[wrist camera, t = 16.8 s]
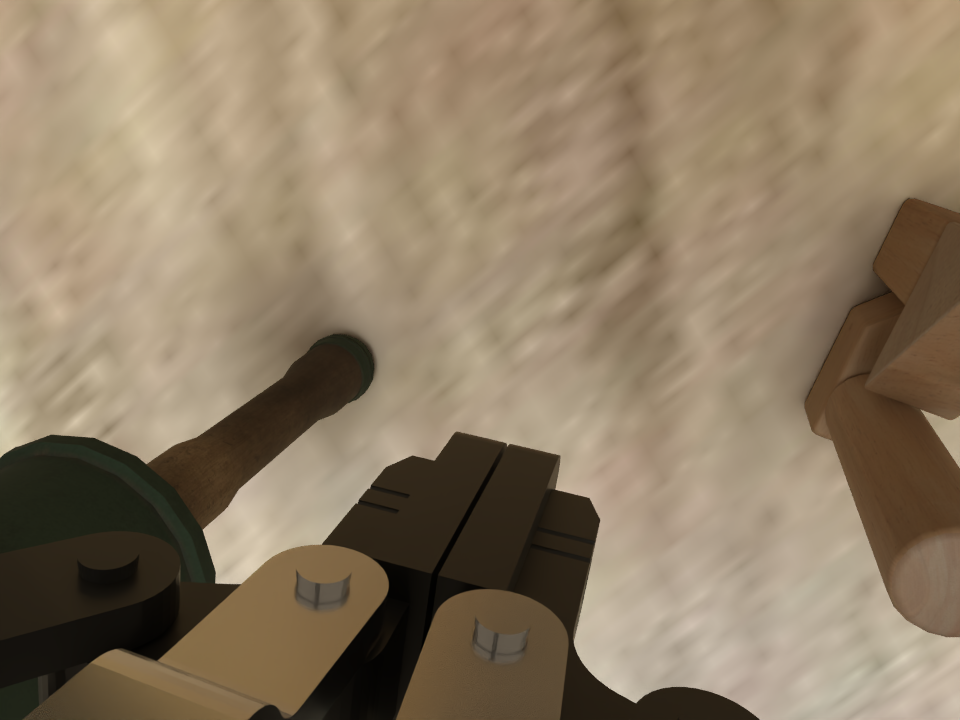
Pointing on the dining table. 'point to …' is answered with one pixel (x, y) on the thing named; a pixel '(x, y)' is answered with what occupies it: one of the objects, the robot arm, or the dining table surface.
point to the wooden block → (903, 414)
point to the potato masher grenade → (167, 474)
